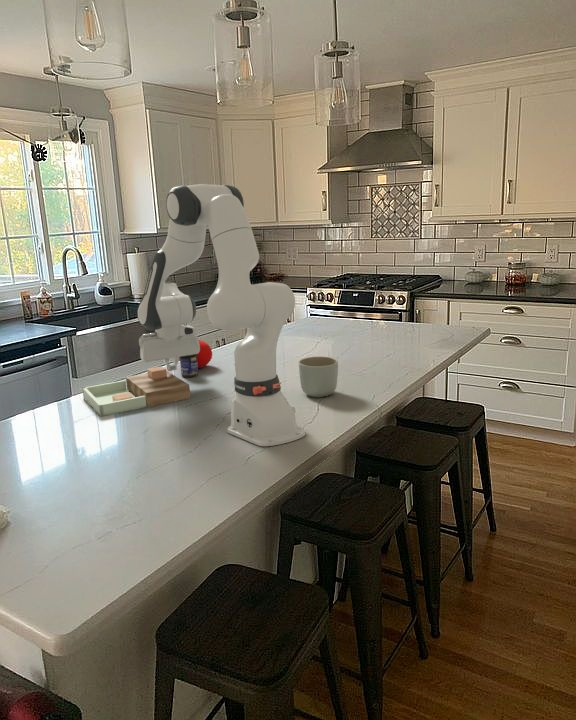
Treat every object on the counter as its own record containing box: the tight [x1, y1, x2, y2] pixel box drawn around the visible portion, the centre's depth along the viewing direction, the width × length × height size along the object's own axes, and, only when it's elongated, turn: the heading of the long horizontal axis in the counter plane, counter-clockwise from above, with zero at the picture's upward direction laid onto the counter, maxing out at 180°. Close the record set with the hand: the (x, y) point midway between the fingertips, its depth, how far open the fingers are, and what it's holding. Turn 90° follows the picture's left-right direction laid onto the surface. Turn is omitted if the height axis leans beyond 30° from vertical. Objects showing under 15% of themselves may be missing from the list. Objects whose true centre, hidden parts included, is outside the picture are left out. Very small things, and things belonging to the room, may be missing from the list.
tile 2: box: [146, 366, 168, 379], centre depth 199 cm, size 5×5×2 cm
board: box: [125, 370, 191, 408], centre depth 195 cm, size 22×14×4 cm, turn 31°
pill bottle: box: [179, 354, 199, 378], centre depth 214 cm, size 6×6×11 cm
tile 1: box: [112, 393, 133, 402], centre depth 185 cm, size 5×5×2 cm
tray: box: [81, 379, 147, 417], centre depth 188 cm, size 22×14×4 cm, turn 31°
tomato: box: [179, 339, 213, 369], centre depth 225 cm, size 12×13×11 cm
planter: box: [298, 356, 339, 398], centre depth 187 cm, size 12×12×11 cm
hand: (172, 370), depth 202 cm, fingers closed
